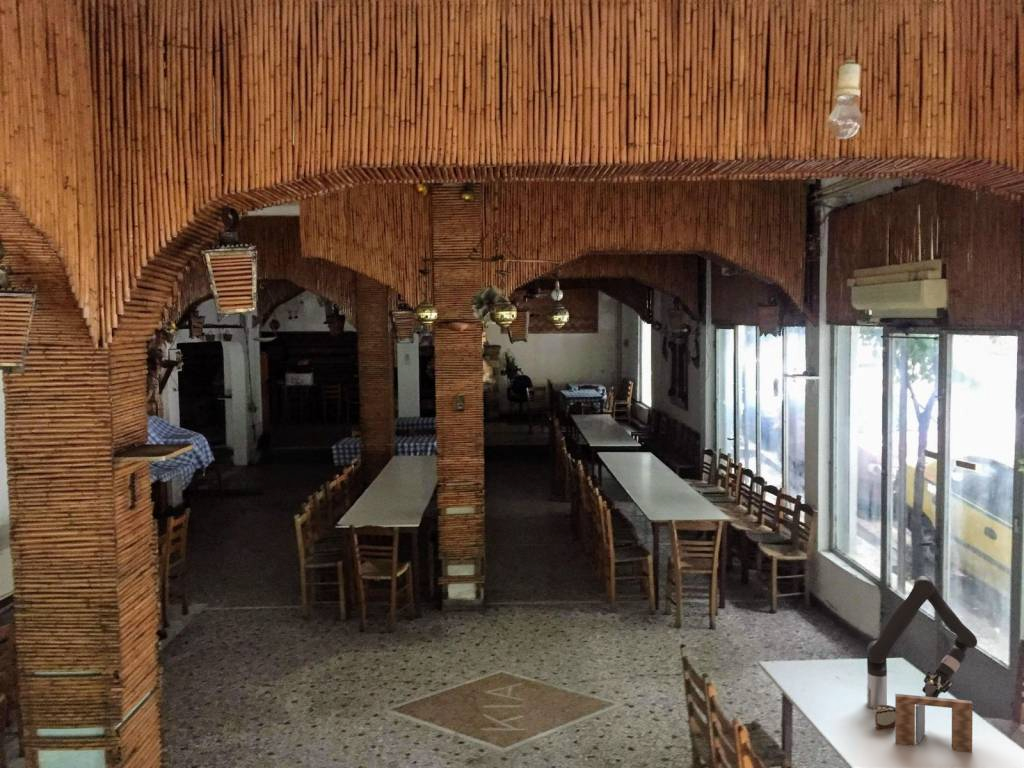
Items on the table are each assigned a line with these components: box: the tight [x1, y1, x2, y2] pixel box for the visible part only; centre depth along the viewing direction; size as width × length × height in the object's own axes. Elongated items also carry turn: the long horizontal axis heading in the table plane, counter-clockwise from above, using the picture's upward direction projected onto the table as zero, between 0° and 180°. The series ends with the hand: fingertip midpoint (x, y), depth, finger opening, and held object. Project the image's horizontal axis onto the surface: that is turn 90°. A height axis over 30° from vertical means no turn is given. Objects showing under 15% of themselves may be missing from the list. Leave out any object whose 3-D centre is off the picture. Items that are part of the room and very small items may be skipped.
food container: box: [872, 704, 895, 732], centre depth 415 cm, size 12×6×10 cm, turn 102°
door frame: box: [894, 693, 974, 753], centre depth 394 cm, size 32×3×23 cm, turn 73°
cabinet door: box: [915, 694, 926, 745], centre depth 402 cm, size 14×3×18 cm, turn 143°
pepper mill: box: [924, 680, 939, 698], centre depth 414 cm, size 6×6×11 cm
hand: (928, 694), depth 413 cm, fingers closed on pepper mill, 5 cm apart
